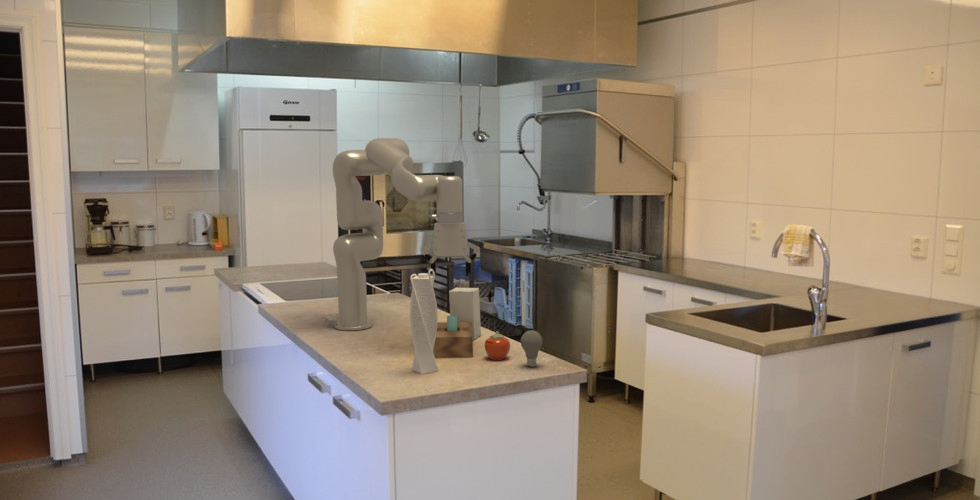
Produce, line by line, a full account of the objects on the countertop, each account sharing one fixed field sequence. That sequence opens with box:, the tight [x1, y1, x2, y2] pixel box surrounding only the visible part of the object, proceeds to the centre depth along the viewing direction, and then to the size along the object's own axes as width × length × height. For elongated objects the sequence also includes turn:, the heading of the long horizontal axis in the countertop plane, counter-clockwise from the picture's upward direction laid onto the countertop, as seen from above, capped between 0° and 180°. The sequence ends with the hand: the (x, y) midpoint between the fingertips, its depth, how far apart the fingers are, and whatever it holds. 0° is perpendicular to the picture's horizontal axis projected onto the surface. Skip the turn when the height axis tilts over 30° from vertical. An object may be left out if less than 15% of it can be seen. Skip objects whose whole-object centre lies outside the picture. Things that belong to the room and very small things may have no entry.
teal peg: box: [446, 314, 457, 331], centre depth 236 cm, size 3×3×10 cm
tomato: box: [484, 330, 511, 361], centre depth 225 cm, size 7×7×8 cm
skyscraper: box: [409, 268, 439, 375], centre depth 212 cm, size 8×8×28 cm
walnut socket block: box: [433, 321, 474, 359], centre depth 237 cm, size 12×20×6 cm, turn 2°
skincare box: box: [448, 287, 482, 340], centre depth 251 cm, size 8×7×16 cm
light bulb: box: [520, 329, 543, 368], centre depth 216 cm, size 6×6×10 cm
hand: (450, 275), depth 234 cm, fingers open, 9 cm apart
